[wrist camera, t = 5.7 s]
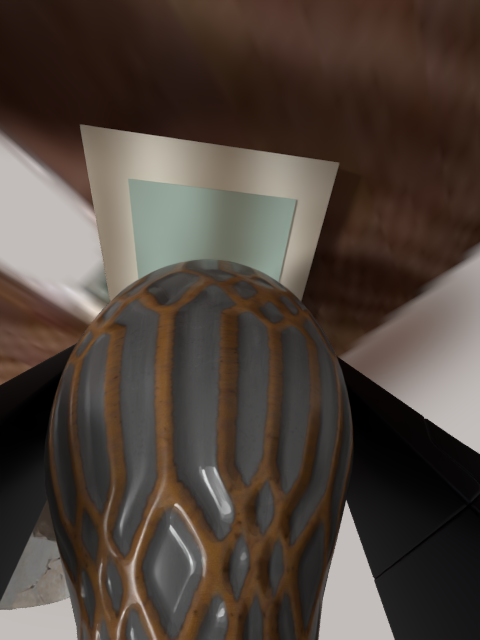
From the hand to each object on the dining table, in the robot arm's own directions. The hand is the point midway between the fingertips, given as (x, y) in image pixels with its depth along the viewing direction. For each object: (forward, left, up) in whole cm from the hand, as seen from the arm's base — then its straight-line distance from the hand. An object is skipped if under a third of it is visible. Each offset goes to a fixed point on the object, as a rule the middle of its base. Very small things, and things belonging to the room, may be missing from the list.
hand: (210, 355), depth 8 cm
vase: (0, 0, -2) cm, 2 cm away
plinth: (0, 0, -12) cm, 12 cm away
